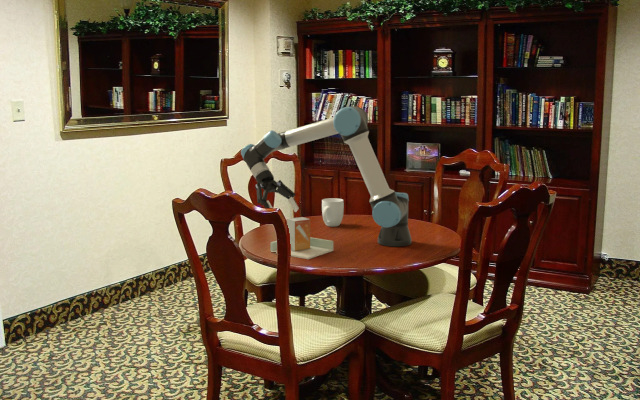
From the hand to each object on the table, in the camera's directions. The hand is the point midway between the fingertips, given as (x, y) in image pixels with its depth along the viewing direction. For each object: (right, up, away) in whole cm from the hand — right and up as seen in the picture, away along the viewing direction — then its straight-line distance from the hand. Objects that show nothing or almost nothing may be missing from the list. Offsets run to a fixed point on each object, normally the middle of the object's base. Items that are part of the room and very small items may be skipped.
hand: (285, 212), depth 289 cm
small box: (+6, -16, -3) cm, 17 cm away
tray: (+7, -17, -4) cm, 19 cm away
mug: (+21, -8, +50) cm, 55 cm away
